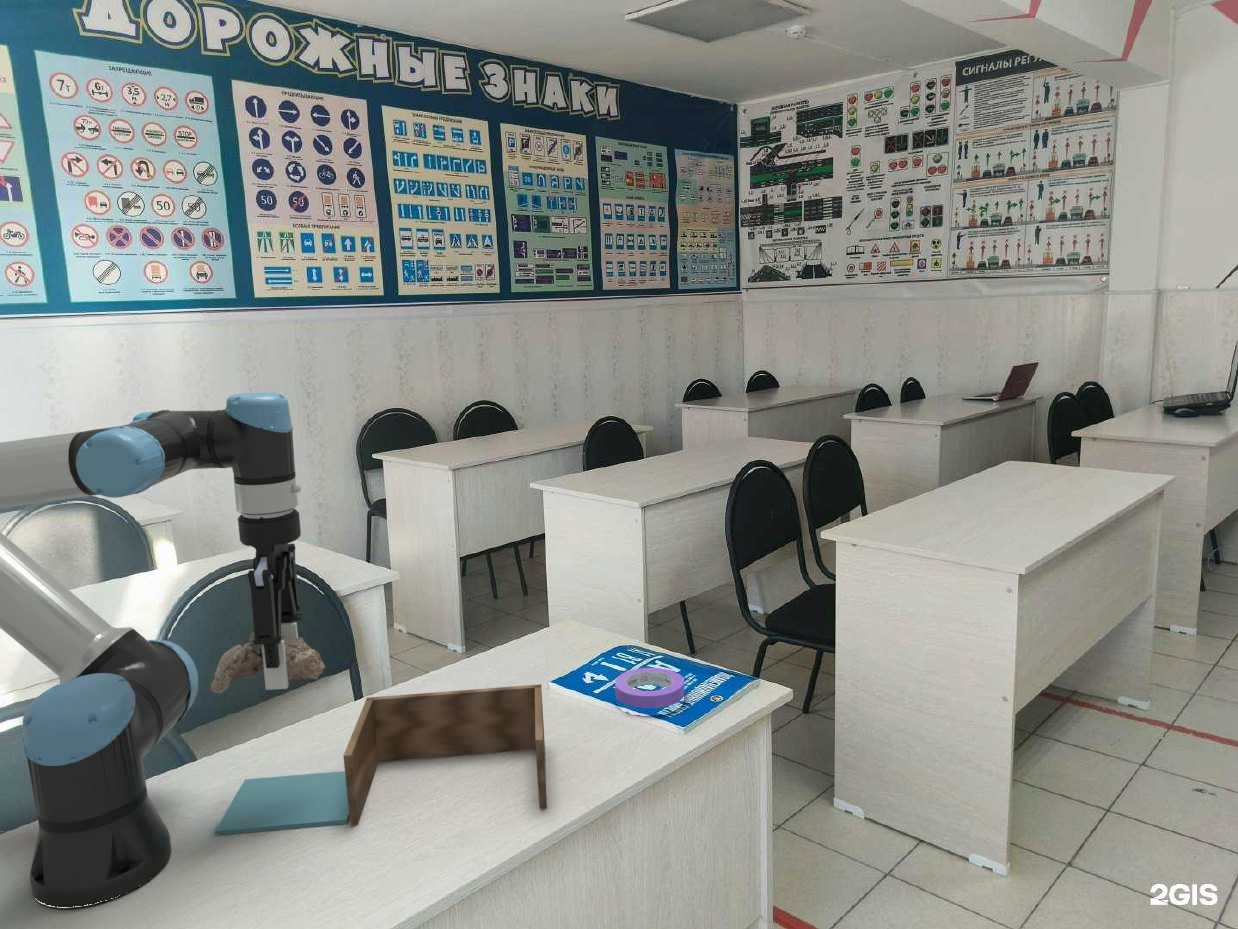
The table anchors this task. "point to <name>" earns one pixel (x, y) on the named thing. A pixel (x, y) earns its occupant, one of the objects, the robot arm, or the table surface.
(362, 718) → the walnut cubby
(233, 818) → the teal rubber mat
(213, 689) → the rock
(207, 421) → the robot arm
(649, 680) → the masking tape
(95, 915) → the table surface
